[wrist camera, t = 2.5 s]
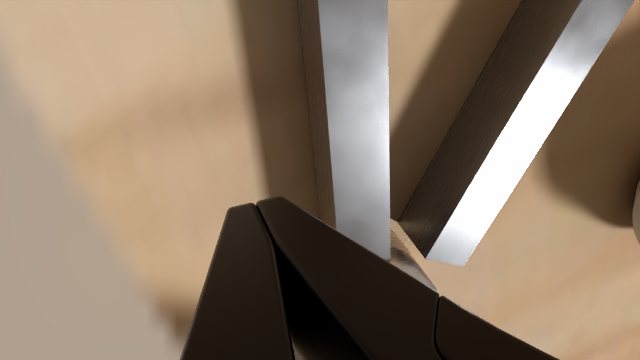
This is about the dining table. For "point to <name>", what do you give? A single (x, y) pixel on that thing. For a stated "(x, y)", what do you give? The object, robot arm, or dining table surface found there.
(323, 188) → the tongs arm
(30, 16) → the dining table surface
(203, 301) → the robot arm
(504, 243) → the dining table surface
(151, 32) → the dining table surface
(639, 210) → the teacup
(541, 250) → the dining table surface
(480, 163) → the base
